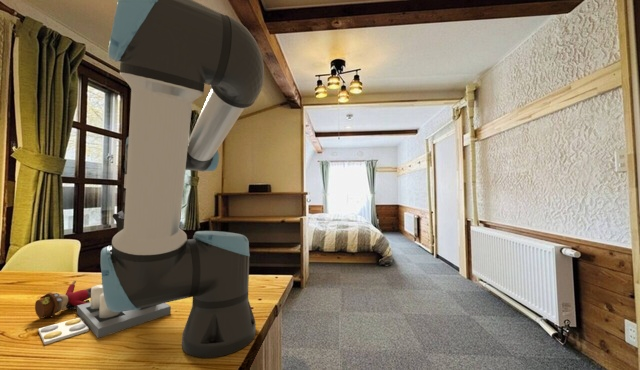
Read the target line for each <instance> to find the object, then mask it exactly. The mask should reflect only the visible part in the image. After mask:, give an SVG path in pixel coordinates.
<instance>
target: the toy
mask: <svg viewBox="0 0 640 370" xmlns="http://www.w3.org/2000/svg"><path fill="white" fill-rule="evenodd" d="M76 283H77V280H73V282H71V284H69V286H68V287H67V290H66V292H65V294H64V293H61V294H59V293H52V292H48V293H46V294H45V295H44V296H43V297H42V298H40V299H37V300H35V304H34V310H35V314H36V316H37V318H39V319H43V318H45V317H48V316H49V317H52V318H53V317H54V318H55V316H56V314H58V313H60V312H61V311H65V310H72V311H74V310H77V305H81V304H85V303H89V302H91V300H89V299H91V288H92V287H90V288H86V289H81V290H76V291H75V287H76V285H75V284H76ZM100 285H102V283H101V284H100Z"/></svg>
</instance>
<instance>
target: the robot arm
mask: <svg viewBox="0 0 640 370" xmlns="http://www.w3.org/2000/svg"><path fill="white" fill-rule="evenodd" d="M254 37H255V36H254V35H252V33H251V32H250V31H249V30H248V28H247V27H246V26H244V24H243V23H241V22H240V21H238V20H237V19H235V18H234V17H232V16H229V15H227V14H224V13H221V12H219V11H217V10H214V9H213V8H210V7H208V6H206V5H204V4H201V3H199V2H197V1H195V0H117V2H116V8H115V12H114V16H113V22H112V28H111V34H110V38H109V39H110V40H109V45H108V50H107V55H108V57H109V59H111V60H113V61H114V62H116V63H117V62H119V65H120V66H119V75H120V77H122V79H123V80H124V81H125V82H126V83H127V85H128V86H129V88H130V89H131V90H130V91H131V92H130V111H129V130H128V136H127V137H126V140H125V146H124V148H125V149H124V150H125V154H124V156H125V157H124V182H123V183H124V184H123V188H124V189H125V190H124V191H123V207H122V209H121V211H119V212H117V213H112V218H113V220H115V222H116V227H117V230H118V232H117V233H116V234H115V235H114V236H113V237H112V239H111V245H108V246H104V247H103V248H101V250H100V270H101V284H102V286H103V293H104V299H105V303H106V306H107V308H108V309H109V310H110V311H113V312H123V311H129V310H139V309H141V308H144V307H148V306H153V305H158V304H162V303H166V304H168V303H170V302H176V301H180V300H184V299H188V298H192V303H191V304H192V306H191V309H190V312H189V315H188V317H187V321H186V323H185V326H184V329H183V330H182V331H183V332H182V334H181V335H182V337H181V338H182V339H181V347H182V350H183V352H184V353H185V354H187V355H189V356H191V357H195V358H202V359H203V358H205V359H206V358H210V359H211V358H218V357H223V356H227V355H231V354H232V353H236V352H238V351H240V350H241V349H243V348H245V347H247V346H248V345H249V344H250V343H252V342H253V340H254V339H255V337H256V331H257V330H256V328H257V327H256V325H257V323H256V319H255V316H254V312H253V309H252V307H251V303H250V301H249V284H250V283H249V280H250V277H249V276H250V275H249V274H250V257H251V256H250V255H251V254H250V246H249V245H250V242H249V239H248V238H247V236H246V235H244V234H241V233H237V232H236V233H235V232H229V231H217V230H198V231H195V232H194V235H193V236H192V238H191V239H190V238H189V239H188V235H187V233H186V232H185V231H184V230H183V229H182V228H180V224H181V223H180V222H181V215H182V205H183V197H184V196H183V195H184V185H185V177H186V171H196V172H197V171H198V172H213V171H215V170H216V169H217V168H218V165H219V162H220V161H219V160H220V154H219V151H218V150H219V148H220V147H221V145H222V143H223V142H224V141H225V139H226V138H227V136H228V135H229V133H230V131H231V129H232V128H233V126H234V125H235V124H236V122H237V121H238V119H239V117H240V116H241V114H242V113H243V111H244V110H245V109H249V108H251V107H252V106H253V105H254V104H255V102H256V101H257V99H258V97H259V96H260V93H261V91H262V88H263V86H264V79H265V65H264V59H263V55H262V51H261V49H260V47H259V45H258V42H257V41H256V39H255V38H254ZM205 85H209V86H210V88H211V89H210V92H209V93H208V96H207V97H206V100H205V102H204V105H203V108H202V109H201V112H200V113H199V116H198V118H197V120H196V122H195V125H194V127H193V129H192V131H191V133H190V130H191V129H190V128H191V127H190V126H191V120H192V119H191V118H192V112H193V111H192V110H193V109H192V108H193V104H194V101H196V100H197V99H198V98H200V97H202V96H203V95H204V94H205V93H204V92H205V91H204V90H205Z"/></svg>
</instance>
